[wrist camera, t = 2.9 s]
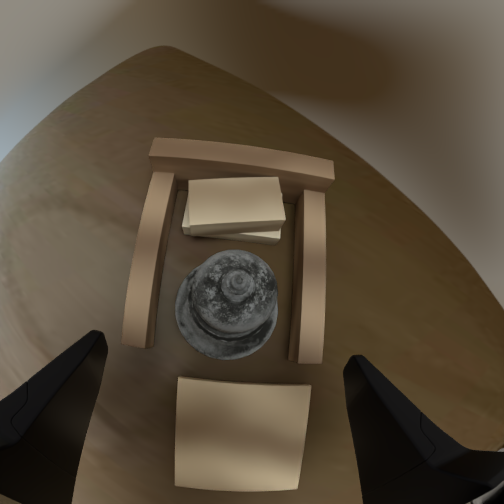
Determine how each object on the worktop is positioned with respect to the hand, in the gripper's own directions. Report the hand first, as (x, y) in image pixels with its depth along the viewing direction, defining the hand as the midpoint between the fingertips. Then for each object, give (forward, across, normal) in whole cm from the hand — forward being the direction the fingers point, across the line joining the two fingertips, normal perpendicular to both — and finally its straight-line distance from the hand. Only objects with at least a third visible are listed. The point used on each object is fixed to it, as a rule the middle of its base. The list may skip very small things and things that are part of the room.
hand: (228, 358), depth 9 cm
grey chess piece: (+8, 0, +5) cm, 10 cm away
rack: (+11, 0, +3) cm, 11 cm away
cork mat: (+2, -2, +12) cm, 12 cm away
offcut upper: (+12, 0, -1) cm, 12 cm away
